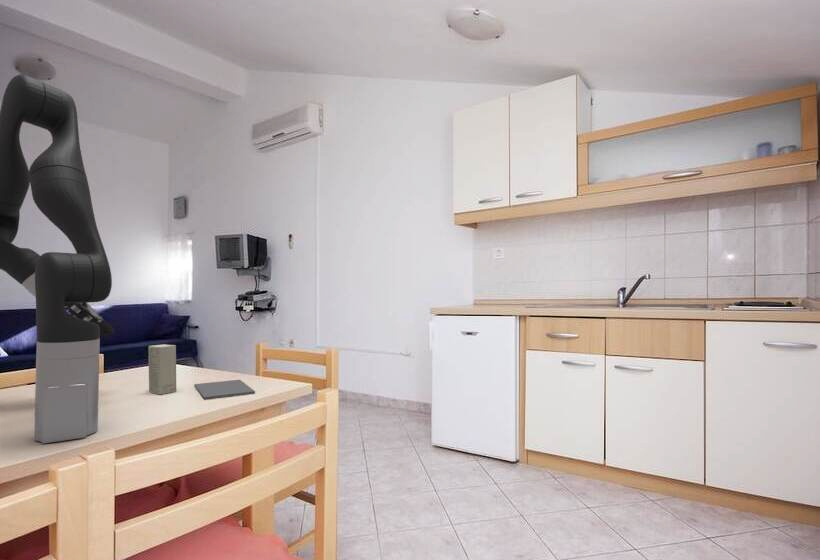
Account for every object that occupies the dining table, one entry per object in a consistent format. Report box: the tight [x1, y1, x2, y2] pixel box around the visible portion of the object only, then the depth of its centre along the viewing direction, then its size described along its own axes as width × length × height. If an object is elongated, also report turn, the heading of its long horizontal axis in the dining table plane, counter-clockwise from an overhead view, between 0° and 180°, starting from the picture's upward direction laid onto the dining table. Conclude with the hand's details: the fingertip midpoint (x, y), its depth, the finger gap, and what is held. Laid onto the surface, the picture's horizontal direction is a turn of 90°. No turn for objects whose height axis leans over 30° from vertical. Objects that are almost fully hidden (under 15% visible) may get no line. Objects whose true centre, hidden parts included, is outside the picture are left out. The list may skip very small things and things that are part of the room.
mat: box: [193, 379, 256, 401], centre depth 118 cm, size 18×12×1 cm, turn 33°
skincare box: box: [148, 343, 177, 395], centre depth 115 cm, size 6×4×12 cm
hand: (111, 334), depth 110 cm, fingers open, 8 cm apart
